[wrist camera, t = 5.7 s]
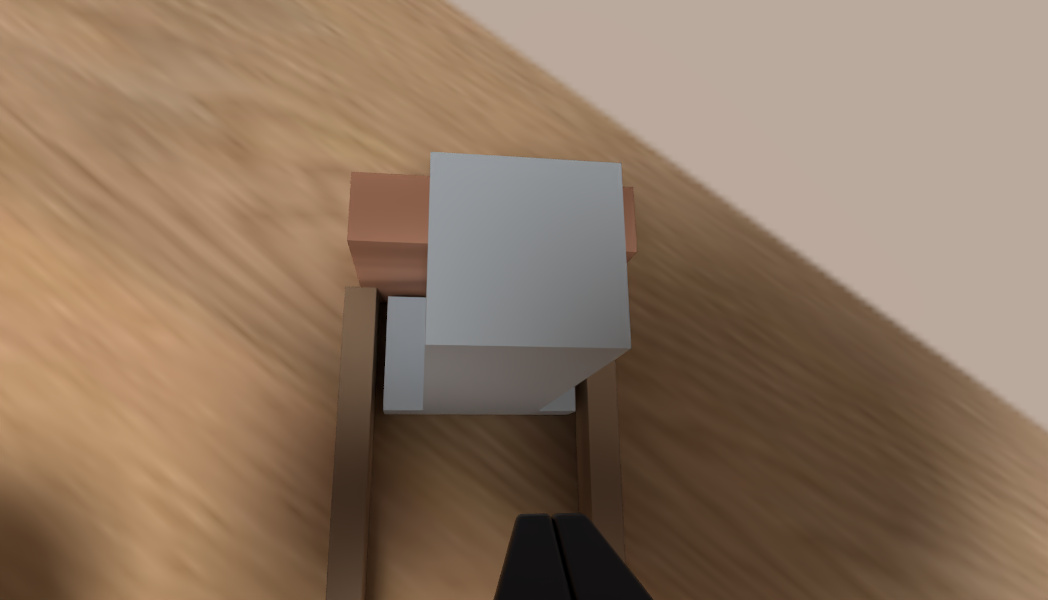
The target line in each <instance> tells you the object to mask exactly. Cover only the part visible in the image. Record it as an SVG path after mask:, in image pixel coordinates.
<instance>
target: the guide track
mask: <svg viewBox="0 0 1048 600" xmlns="http://www.w3.org/2000/svg"><path fill="white" fill-rule="evenodd" d="M622 189H623V207H624V225H625V243H626V261H627V262H628V261H629V260H630V259H631V258H632V257H633V256H634V255H635V254H636V252H637V244H636V227H635V210H634V194H633V187H622ZM429 191H430V176H419V175H400V174H382V173H364V172H351V188H350V204H349V220H348V236H347V241H348V245H349V248H350V252H351V255H352V258H353V262H354V265H355V269H356V272H357V276H358V279H359V282H360V286H361V287H345V299H344V315H343V331H342V347H341V363H340V379H339V395H338V411H337V427H336V443H335V459H334V475H333V491H332V507H331V523H330V539H329V555H328V571H327V587H326V600H366V579H367V558H368V537H369V516H370V495H371V474H372V453H373V432H374V411H375V390H376V369H377V348H378V328H379V307H380V303H388V296H390V297H425V298H426V285H427V254H428V222H429ZM575 407H576V438H577V470H578V501H579V513H583V514H585V515H586V516H588V517H589V518H590V520H591V521H592V522H593V524H594V525H595V526H596V527H597V529H598V530H599V531H600V532H601V534H602V535H603V536H604V537H605V539H606V540H607V541H608V543H609V544H610V545H611V546H612V548H613V549H614V550H615V551H616V553H617V554H618V555H619V557H620V558H621V559H622V560H623V562H624V563H625V547H624V526H623V506H622V485H621V465H620V444H619V423H618V403H617V382H616V362H615V360H613V361H612V362H610V363H609V364H607V365H606V366H604V367H603V368H601V369H600V370H598V371H597V372H595V373H594V374H592V375H591V376H589V377H588V378H586V379H585V380H583V381H582V382H580V383H579V384H578V385H576V386H575Z"/></svg>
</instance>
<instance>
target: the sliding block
mask: <svg viewBox="0 0 1048 600" xmlns="http://www.w3.org/2000/svg"><path fill="white" fill-rule="evenodd" d="M630 349H631V333H630V315H629V297H628V279H627V261H626V243H625V225H624V207H623V189H622V170H621V163H610V162H593V161H576V160H559V159H543V158H526V157H509V156H492V155H476V154H459V153H442V152H431V160H430V191H429V222H428V254H427V285H426V298H425V297H390V296H388V311H387V333H386V356H385V379H384V401H383V411H384V413H385V414H468V415H568V414H570V413H572V412H574V411H576V410H575V386H576V385H578V384H579V383H580V382H582V381H583V380H585V379H586V378H588V377H589V376H591V375H592V374H594V373H595V372H597V371H598V370H600V369H601V368H603V367H604V366H606V365H607V364H609V363H610V362H612V361H613V360H615V359H616V358H618V357H619V356H621V355H622V354H624V353H625V352H627V351H628V350H630Z"/></svg>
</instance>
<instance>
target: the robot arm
mask: <svg viewBox="0 0 1048 600" xmlns="http://www.w3.org/2000/svg"><path fill="white" fill-rule="evenodd" d="M494 600H653V598H652V597H651V596H650V595H649V593H648V592H647V591H646V590H645V588H644V587H643V586H642V584H641V583H640V582H639V581H638V579H637V578H636V577H635V576H634V574H633V573H632V572H631V571H630V569H629V568H628V567H627V565H626V564H625V563H624V562H623V560H622V559H621V558H620V557H619V555H618V554H617V553H616V551H615V550H614V549H613V548H612V546H611V545H610V544H609V543H608V541H607V540H606V539H605V537H604V536H603V535H602V534H601V532H600V531H599V530H598V529H597V527H596V526H595V525H594V524H593V522H592V521H591V520H590V518H589V517H588V516H586V515H585V514H583V513H557V514H554V515H553V516H552V517H550V516H549V515H548V514H544V513H543V514H520V515H518V516H517V518H516V520H515V524H514V527H513V531H512V535H511V538H510V542H509V545H508V549H507V553H506V556H505V560H504V564H503V567H502V571H501V575H500V578H499V582H498V586H497V589H496V593H495V596H494Z"/></svg>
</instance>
